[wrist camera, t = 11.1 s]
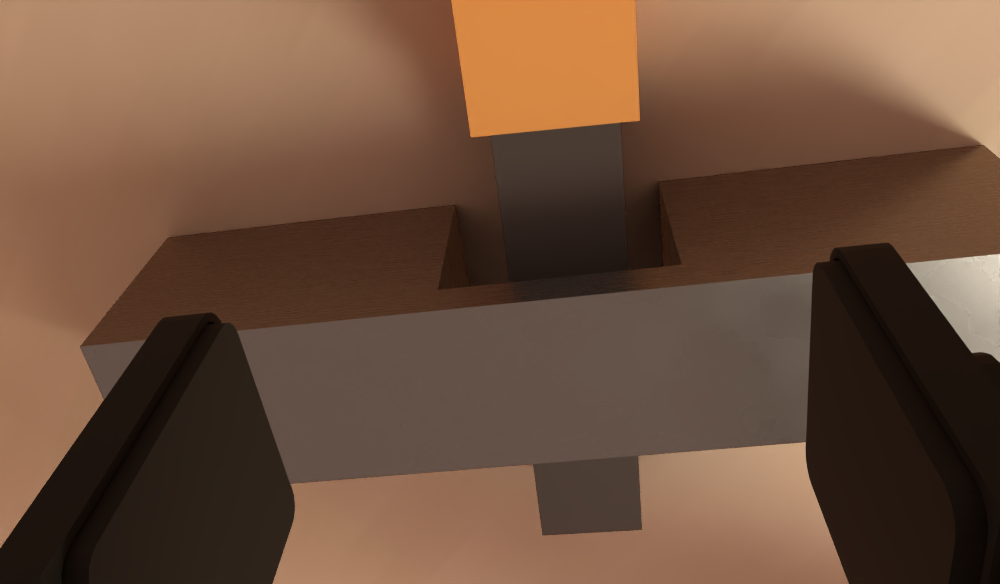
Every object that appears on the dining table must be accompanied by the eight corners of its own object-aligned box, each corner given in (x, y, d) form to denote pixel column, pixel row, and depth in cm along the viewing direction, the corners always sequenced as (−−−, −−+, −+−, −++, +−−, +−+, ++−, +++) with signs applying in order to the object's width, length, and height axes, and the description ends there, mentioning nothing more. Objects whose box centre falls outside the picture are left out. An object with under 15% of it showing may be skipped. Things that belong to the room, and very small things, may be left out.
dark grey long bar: (644, 461, 31) (657, 547, 28) (531, 469, 31) (529, 554, 28) (618, -87, 22) (632, -61, 19) (460, -68, 22) (445, -38, 19)
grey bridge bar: (962, 297, 27) (1061, 421, 22) (216, 369, 30) (148, 494, 25) (983, 145, 25) (1100, 243, 19) (167, 237, 27) (80, 346, 22)
